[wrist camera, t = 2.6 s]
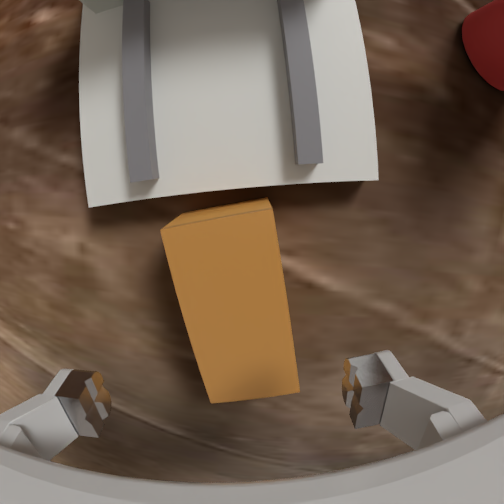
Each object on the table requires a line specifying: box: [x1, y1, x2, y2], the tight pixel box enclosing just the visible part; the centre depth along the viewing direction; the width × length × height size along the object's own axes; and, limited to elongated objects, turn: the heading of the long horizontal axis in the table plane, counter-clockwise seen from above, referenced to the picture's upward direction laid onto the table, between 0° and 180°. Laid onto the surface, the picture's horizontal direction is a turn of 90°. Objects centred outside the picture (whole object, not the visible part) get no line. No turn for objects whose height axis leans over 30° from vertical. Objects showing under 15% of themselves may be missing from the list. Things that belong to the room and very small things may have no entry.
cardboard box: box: [160, 197, 300, 403], centre depth 17 cm, size 10×5×5 cm, turn 10°
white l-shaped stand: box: [79, 0, 378, 208], centre depth 12 cm, size 16×16×8 cm
